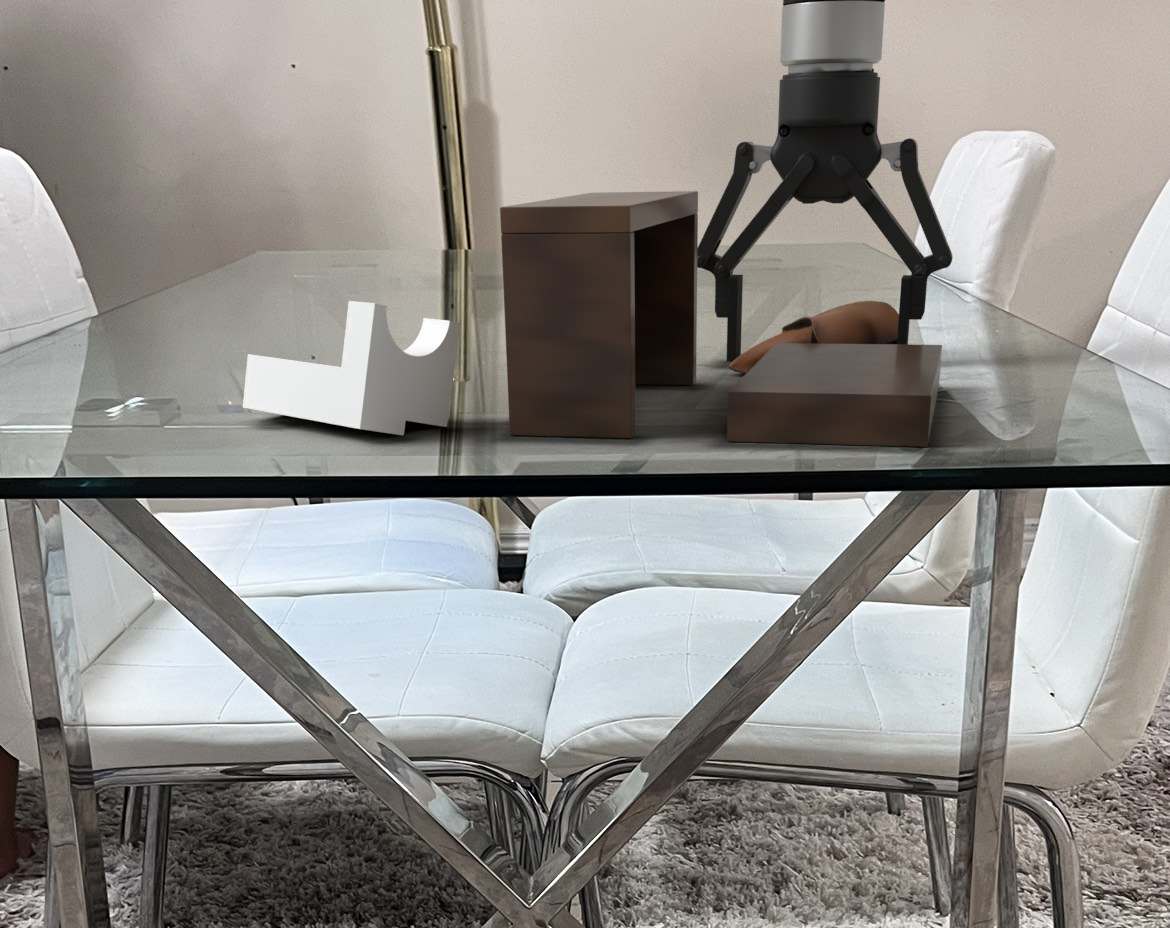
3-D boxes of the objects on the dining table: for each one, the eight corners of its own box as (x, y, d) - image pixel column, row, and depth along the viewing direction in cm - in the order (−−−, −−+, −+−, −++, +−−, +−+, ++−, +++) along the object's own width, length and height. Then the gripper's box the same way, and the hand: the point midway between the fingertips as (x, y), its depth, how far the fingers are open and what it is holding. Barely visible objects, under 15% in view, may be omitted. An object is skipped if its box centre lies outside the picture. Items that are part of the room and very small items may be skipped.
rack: (938, 387, 102) (954, 187, 97) (927, 447, 83) (946, 201, 77) (594, 381, 109) (590, 192, 103) (509, 435, 89) (499, 207, 84)
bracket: (444, 441, 93) (460, 323, 91) (359, 428, 87) (374, 303, 86) (326, 419, 101) (339, 311, 99) (242, 407, 96) (254, 292, 94)
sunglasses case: (809, 339, 123) (850, 271, 119) (872, 386, 122) (916, 318, 118) (721, 369, 109) (763, 293, 105) (791, 421, 108) (837, 346, 104)
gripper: (1001, 66, 106) (974, 356, 115) (677, 76, 112) (675, 351, 121) (1002, 62, 99) (973, 370, 108) (657, 73, 105) (657, 364, 114)
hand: (816, 361), depth 114 cm, fingers open, 13 cm apart
